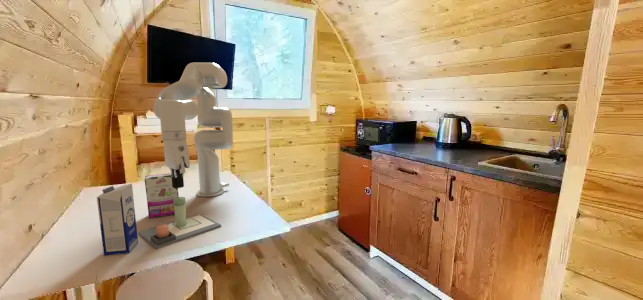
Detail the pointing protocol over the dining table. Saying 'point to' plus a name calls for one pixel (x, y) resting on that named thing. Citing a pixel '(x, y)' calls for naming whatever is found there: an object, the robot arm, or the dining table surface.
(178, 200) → the green cylinder
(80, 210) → the dining table surface
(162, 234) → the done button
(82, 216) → the dining table surface
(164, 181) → the candy bar box
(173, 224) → the drawing board
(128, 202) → the milk carton
